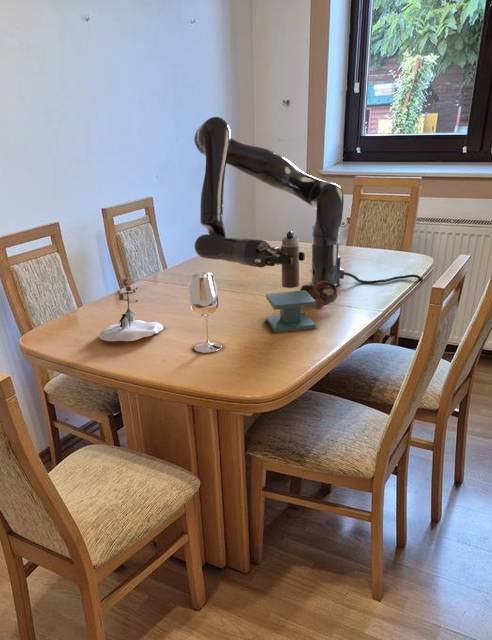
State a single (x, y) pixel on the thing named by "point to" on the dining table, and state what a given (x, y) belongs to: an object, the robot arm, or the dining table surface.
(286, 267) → the pepper mill
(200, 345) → the wineglass
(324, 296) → the brown clay hollow piece
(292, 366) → the dining table surface
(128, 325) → the figurine
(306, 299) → the stand
